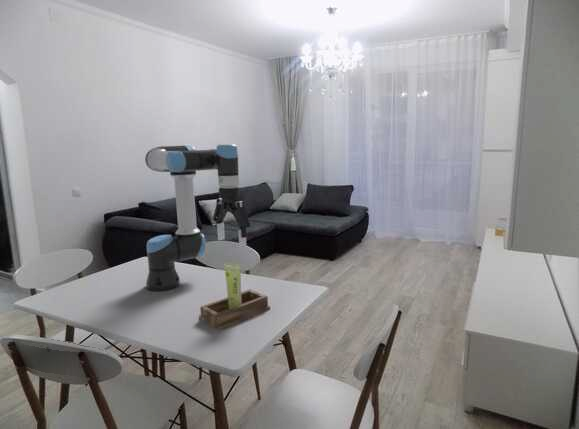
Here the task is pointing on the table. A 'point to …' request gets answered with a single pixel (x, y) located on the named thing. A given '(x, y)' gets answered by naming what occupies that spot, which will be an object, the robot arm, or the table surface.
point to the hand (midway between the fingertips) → (231, 242)
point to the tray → (234, 310)
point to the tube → (233, 284)
